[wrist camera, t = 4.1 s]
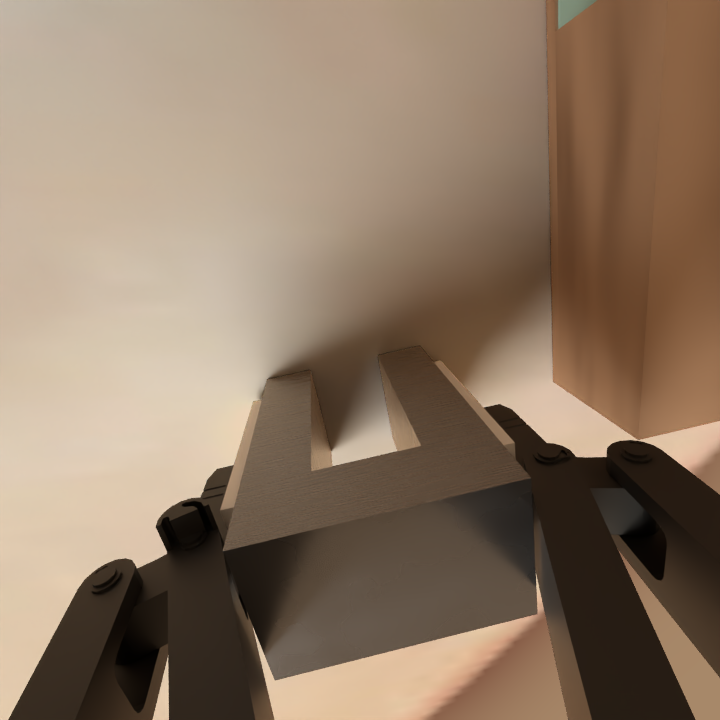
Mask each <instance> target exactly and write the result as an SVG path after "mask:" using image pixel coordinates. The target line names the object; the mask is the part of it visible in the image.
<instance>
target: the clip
mask: <svg viewBox="0 0 720 720" xmlns="http://www.w3.org/2000/svg"><path fill="white" fill-rule="evenodd" d="M378 361H379V366H380V372H381V377H382V382H383V388H384V393H385V399H386V404H387V409H388V415H389V420H390V426H391V431H392V436H393V440H394V443H395V445H396V448H397V452H392V453H388V454H384V455H380V456H375V457H371V458H367V459H362V460H358V461H354V462H349V463H345V464H341V465H336V466H332V455H331V449H330V445H329V441H328V437H327V433H326V429H325V425H324V421H323V417H322V413H321V409H320V405H319V401H318V397H317V394H316V390H315V386H314V382H313V378H312V374H311V370H308V371H303V372H299V373H294V374H290V375H285V376H281V377H276V378H271V379H267V382H266V385H265V389H264V393H263V397H262V401H261V405H260V409H259V412H258V416H257V420H256V424H255V428H254V432H253V436H252V440H251V443H250V447H249V451H248V455H247V459H246V463H245V467H244V471H243V474H242V478H241V482H240V486H239V490H238V494H237V498H236V502H235V505H234V509H233V513H232V517H231V521H230V525H229V529H228V532H227V536H226V540H225V544H224V548H223V553H224V556H225V558H226V561H227V563H228V566H229V568H230V571H231V573H232V576H233V578H234V581H235V583H236V586H237V588H238V591H239V593H240V595H241V598H242V600H243V603H244V605H245V608H246V610H247V613H248V615H249V618H250V620H251V623H252V625H253V628H254V630H255V633H256V635H257V637H258V640H259V642H260V645H261V647H262V650H263V652H264V655H265V657H266V660H267V662H268V665H269V667H270V670H271V672H272V674H273V677H274V679H275V680H279V679H283V678H287V677H291V676H294V675H298V674H302V673H306V672H310V671H314V670H318V669H322V668H326V667H330V666H334V665H338V664H342V663H346V662H350V661H354V660H358V659H362V658H366V657H369V656H373V655H377V654H381V653H385V652H389V651H393V650H397V649H401V648H405V647H409V646H413V645H417V644H421V643H425V642H429V641H433V640H437V639H440V638H444V637H448V636H452V635H456V634H460V633H464V632H468V631H472V630H476V629H480V628H484V627H488V626H492V625H496V624H500V623H504V622H508V621H511V620H515V619H519V618H523V617H527V616H531V615H535V614H537V592H536V571H535V550H534V528H533V507H532V485H531V477H530V476H529V475H528V474H527V472H526V471H525V470H524V469H523V468H522V467H521V465H520V464H519V463H518V462H517V461H516V459H515V458H514V457H513V456H512V455H511V453H510V452H509V451H508V450H507V449H506V448H505V446H504V445H503V444H502V443H501V442H500V440H499V439H498V438H497V437H496V436H495V434H494V433H493V432H492V431H491V430H490V428H489V427H488V426H487V425H486V424H485V423H484V421H483V420H482V419H481V418H480V417H479V415H478V414H477V413H476V412H475V411H474V409H473V408H472V407H471V406H470V405H469V404H468V402H467V401H466V400H465V399H464V398H463V396H462V395H461V394H460V393H459V392H458V390H457V389H456V388H455V387H454V386H453V385H452V383H451V382H450V381H449V380H448V379H447V377H446V376H445V375H444V374H443V373H442V371H441V370H440V369H439V368H438V367H437V366H436V364H435V363H434V362H433V361H432V360H431V358H430V357H429V356H428V355H427V354H426V352H425V351H424V350H423V349H422V348H421V347H420V346H417V347H412V348H408V349H403V350H399V351H394V352H390V353H385V354H381V355H378Z"/></svg>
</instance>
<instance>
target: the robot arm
mask: <svg viewBox="0 0 720 720" xmlns="http://www.w3.org/2000/svg"><path fill="white" fill-rule="evenodd" d="M434 363H435V364H436V366H437V367H438V368H439V369H440V370H441V371H442V373H443V374H444V375H445V376H446V377H447V379H448V380H449V381H450V382H451V383H452V385H453V386H454V387H455V388H456V389H457V390H458V392H459V393H460V394H461V395H462V396H463V398H464V399H465V400H466V401H467V402H468V404H469V405H470V406H471V407H472V408H473V409H474V411H475V412H476V413H477V414H478V415H479V417H480V418H481V419H482V420H483V421H484V423H485V424H486V425H487V426H488V427H489V428H490V430H491V431H492V432H493V433H494V434H495V436H496V437H497V438H498V439H499V440H500V442H501V443H502V444H503V445H504V446H505V448H506V449H507V450H508V451H509V452H510V453H511V455H512V456H513V457H514V458H515V459H516V461H517V462H518V463H519V464H520V465H521V467H522V468H523V469H524V470H525V471H526V472H527V474H528V475H529V476H530V477H531V485H532V507H533V528H534V550H535V570H536V574H537V579H538V583H539V588H540V593H541V597H542V602H543V606H544V611H545V615H546V620H547V625H548V629H549V634H550V638H551V643H552V648H553V652H554V657H555V661H556V666H557V670H558V675H559V680H560V684H561V689H562V694H563V698H564V702H565V707H566V712H567V716H568V720H695V718H694V716H693V713H692V711H691V709H690V707H689V705H688V702H687V700H686V698H685V696H684V694H683V691H682V689H681V687H680V685H679V683H678V680H677V678H676V676H675V674H674V672H673V670H672V667H671V665H670V663H669V661H668V659H667V656H666V654H665V652H664V650H663V648H662V645H661V643H660V641H659V639H658V637H657V634H656V632H655V630H654V628H653V626H652V624H651V621H650V619H649V617H648V615H647V613H646V610H645V609H644V606H643V604H642V602H641V600H640V597H639V595H638V593H637V591H636V588H635V586H634V584H633V582H632V580H631V577H630V575H629V573H628V571H627V569H626V567H625V565H624V562H623V560H622V558H621V556H620V553H619V551H620V552H621V553H622V555H623V556H624V557H625V559H627V561H628V562H629V564H630V565H631V566H632V567H633V569H634V570H635V571H636V572H637V574H638V575H639V576H640V577H641V579H642V580H643V581H644V583H645V584H646V585H647V586H648V588H649V589H650V590H651V591H652V593H653V594H654V595H655V596H656V598H657V599H658V600H659V601H660V603H661V604H662V605H663V607H664V608H665V609H666V610H667V611H668V613H669V614H670V615H671V617H672V618H673V619H674V620H675V622H676V623H677V624H678V625H679V627H680V628H681V629H682V630H683V632H684V633H685V634H686V635H687V637H688V638H689V639H690V641H691V642H692V643H693V644H694V645H695V647H696V648H697V649H698V651H699V652H700V653H701V654H702V656H703V657H704V658H705V659H706V661H707V662H708V663H709V664H710V666H711V667H712V668H713V670H714V671H715V672H716V673H717V674H718V676H719V677H720V495H719V494H718V493H717V492H715V491H714V490H713V489H712V488H710V487H709V486H708V485H706V484H705V483H704V482H703V481H701V480H700V479H699V478H697V477H696V476H695V475H693V474H692V473H691V472H690V471H688V470H687V469H686V468H684V467H683V466H682V465H680V464H679V463H678V462H677V461H675V460H674V459H673V458H671V457H670V456H669V455H667V454H666V453H665V452H664V451H662V450H661V449H659V448H657V447H655V446H654V445H651V444H648V443H645V442H641V441H633V440H627V441H618V442H615V443H612V444H611V445H610V446H609V447H608V448H607V457H593V458H583V457H575V455H574V454H573V453H572V452H571V450H569V449H567V448H565V447H563V446H560V445H557V444H552V443H546V442H545V441H544V440H543V439H542V438H541V437H540V436H539V435H538V434H537V433H536V432H535V431H534V430H533V429H532V428H531V427H530V426H529V425H526V423H525V422H524V421H523V420H522V419H520V417H519V416H518V415H517V414H516V413H515V412H514V411H513V410H512V409H510V408H507V407H505V406H503V405H500V404H498V405H494V406H489V407H485V408H483V407H482V406H481V405H480V403H479V402H478V401H477V400H476V399H475V398H474V397H473V396H472V394H471V393H470V392H469V391H468V390H467V389H466V388H465V387H464V386H463V384H462V383H461V382H460V381H459V380H458V379H457V378H456V377H455V376H454V374H453V373H452V372H451V371H450V370H449V369H448V368H447V367H446V366H445V364H444V363H443V362H442V361H441V360H440V361H436V362H434ZM261 401H262V400H258V401H253V404H252V407H251V411H250V414H249V417H248V421H247V424H246V427H245V430H244V434H243V437H242V440H241V444H240V447H239V450H238V453H237V457H236V460H235V463H234V465H233V466H228V467H224V468H220V469H217V470H216V471H215V472H214V473H213V474H212V475H211V476H210V477H209V479H208V480H207V482H206V485H205V488H204V492H203V493H202V495H201V498H191V499H187V500H184V501H181V502H179V503H177V504H176V505H174V506H172V507H171V508H169V509H168V510H167V511H165V512H164V513H163V514H162V516H161V517H160V518H159V519H158V521H157V525H156V528H157V530H158V533H159V535H160V537H161V539H162V541H163V543H164V546H165V548H166V550H167V554H166V555H164V556H163V557H161V558H159V559H157V560H155V561H153V562H150V563H148V564H146V565H144V566H142V567H140V568H136V566H135V564H134V563H133V561H132V560H129V559H118V560H114V561H112V562H110V563H107V564H105V565H103V566H101V567H100V568H98V569H97V570H95V571H94V572H93V573H92V574H91V575H89V576H88V577H87V578H86V579H85V580H84V582H83V583H82V584H81V586H80V587H79V588H78V590H77V592H76V594H75V596H74V598H73V599H72V601H71V603H70V605H69V607H68V609H67V611H66V613H65V614H64V616H63V618H62V620H61V622H60V624H59V626H58V628H57V629H56V631H55V633H54V635H53V637H52V639H51V641H50V643H49V644H48V646H47V648H46V650H45V652H44V654H43V656H42V658H41V660H40V661H39V663H38V665H37V667H36V669H35V671H34V673H33V675H32V676H31V678H30V680H29V682H28V684H27V686H26V688H25V690H24V691H23V693H22V695H21V697H20V699H19V701H18V703H17V705H16V706H15V708H14V710H13V712H12V714H11V716H10V718H9V720H152V719H153V715H154V711H155V707H156V703H157V698H158V694H159V690H160V686H161V682H162V678H163V674H164V670H165V666H166V661H167V657H168V664H169V720H274V716H273V712H272V708H271V704H270V699H269V695H268V691H267V686H266V682H265V678H264V674H263V669H262V665H261V661H260V656H259V652H258V648H257V643H256V639H255V635H254V631H253V626H252V623H251V620H250V618H249V615H248V613H247V610H246V608H245V605H244V603H243V600H242V598H241V595H240V593H239V591H238V588H237V586H236V583H235V581H234V578H233V576H232V573H231V571H230V568H229V566H228V563H227V561H226V558H225V556H224V553H223V548H224V544H225V540H226V536H227V532H228V529H229V525H230V521H231V517H232V513H233V509H234V505H235V502H236V498H237V494H238V490H239V486H240V482H241V478H242V474H243V471H244V467H245V463H246V459H247V455H248V451H249V447H250V443H251V440H252V436H253V432H254V428H255V424H256V420H257V416H258V412H259V409H260V405H261ZM618 550H619V551H618Z"/></svg>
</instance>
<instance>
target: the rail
mask: <svg viewBox="0 0 720 720" xmlns="http://www.w3.org/2000/svg"><path fill="white" fill-rule="evenodd" d="M546 15H547V70H548V124H549V179H550V233H551V288H552V342H553V382H554V383H556V384H557V385H559V386H560V387H562V388H563V389H565V390H566V391H567V392H569V393H570V394H572V395H573V396H575V397H576V398H578V399H579V400H581V401H582V402H584V403H585V404H586V405H588V406H589V407H591V408H592V409H594V410H595V411H597V412H598V413H600V414H601V415H603V416H604V417H605V418H607V419H608V420H610V421H611V422H613V423H614V424H616V425H617V426H619V427H620V428H622V429H623V430H624V431H626V432H627V433H629V434H630V435H632V436H633V437H635V438H636V439H638V440H640V439H644V438H649V437H653V436H657V435H661V434H666V433H670V432H674V431H678V430H683V429H687V428H691V427H695V426H700V425H704V424H708V423H712V422H717V421H720V0H546Z"/></svg>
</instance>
